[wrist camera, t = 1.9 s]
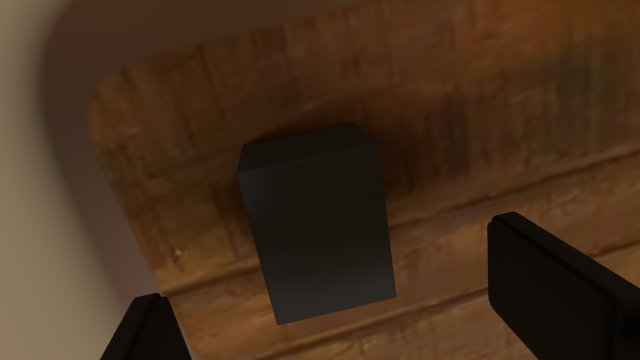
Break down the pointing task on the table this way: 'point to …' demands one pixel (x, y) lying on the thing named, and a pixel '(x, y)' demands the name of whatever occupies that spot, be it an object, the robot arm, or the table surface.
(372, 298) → the dark grey block
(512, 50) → the table surface
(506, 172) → the table surface
